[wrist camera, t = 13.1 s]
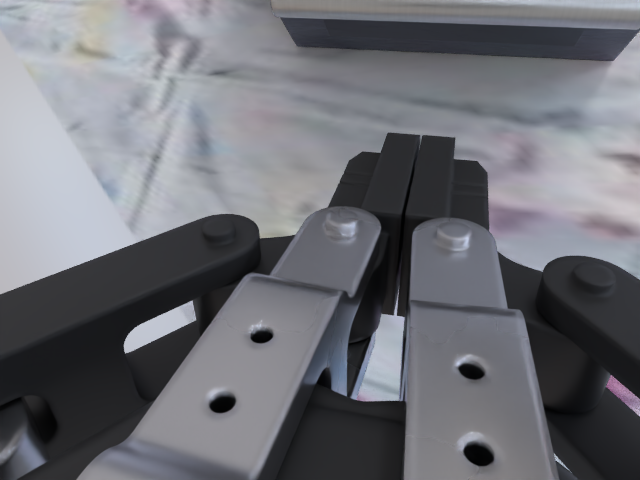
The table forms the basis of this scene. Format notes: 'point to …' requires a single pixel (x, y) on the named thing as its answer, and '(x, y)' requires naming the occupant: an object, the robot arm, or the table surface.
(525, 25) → the oven door
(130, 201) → the table surface
